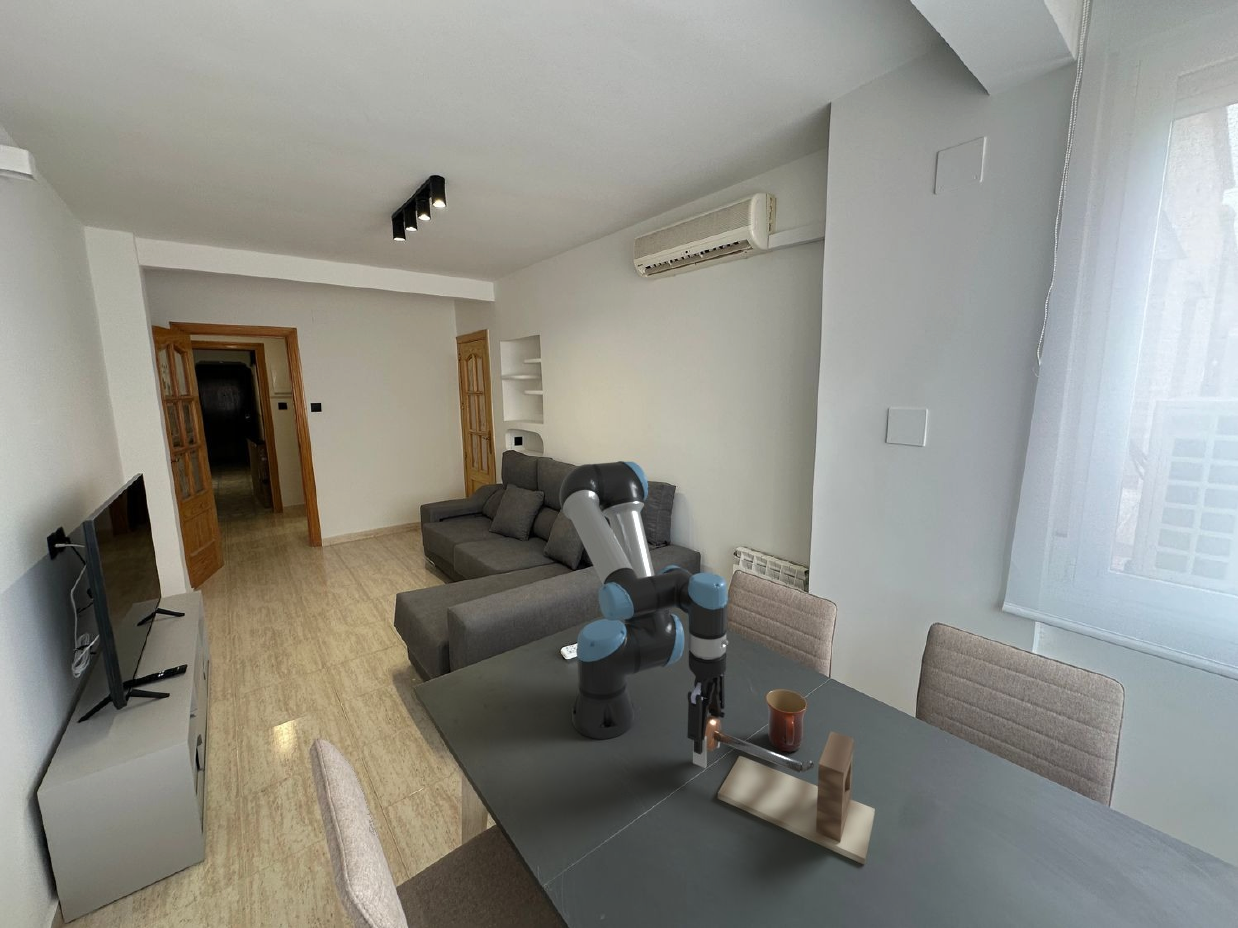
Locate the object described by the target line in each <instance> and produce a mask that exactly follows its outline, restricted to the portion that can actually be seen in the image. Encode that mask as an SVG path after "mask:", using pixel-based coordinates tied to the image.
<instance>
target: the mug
mask: <svg viewBox="0 0 1238 928" xmlns="http://www.w3.org/2000/svg"><path fill="white" fill-rule="evenodd" d="M765 701H766V706H767V708H768V718H767V719H768V720H767V734H768V739H769V742H770V744H771V745H772V746H773V747H775V748H776V749H778V750H780V751H782V752H791V753H792V752H795V751H798V750H799V749H800V748H801V746H802V744H803V739H804V715H805V713H806V711H807V708H808V702H807V700H806V698H805V697H803V696H802V695H801V694H799V692H798V693H797V692H795V691H793V690H790V689H784V688H783V689H782V688H781V689H780V688H779V689H773V690H771V691H768V693H767V694H766V695H765Z"/></svg>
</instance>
